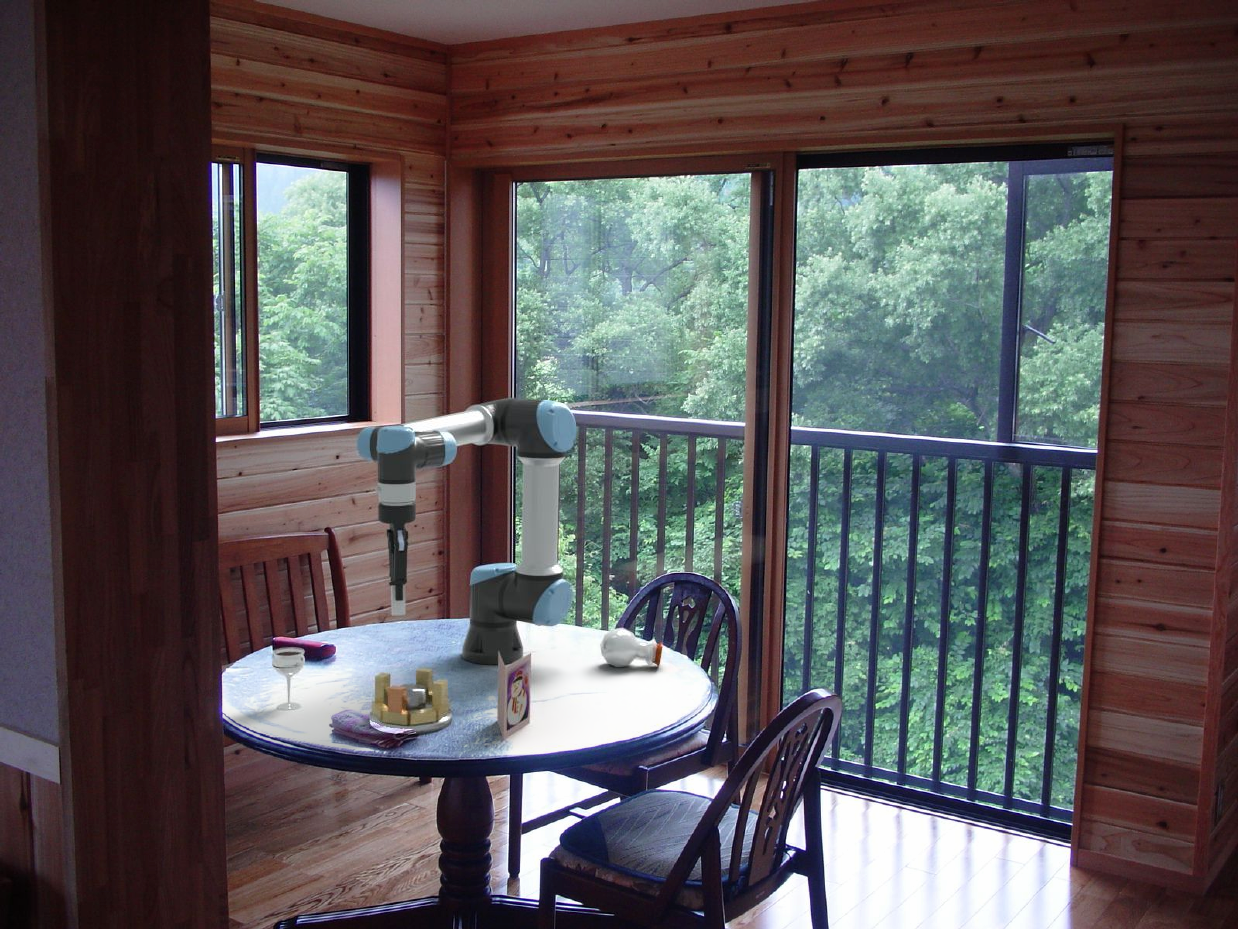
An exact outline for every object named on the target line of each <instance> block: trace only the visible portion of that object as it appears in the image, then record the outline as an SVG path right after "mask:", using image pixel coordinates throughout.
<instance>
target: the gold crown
mask: <svg viewBox="0 0 1238 929" xmlns="http://www.w3.org/2000/svg"><path fill="white" fill-rule="evenodd" d="M415 684H420V685H423V686H425V687H426V705H432V708H429V709H422V710H415V711H406V687H402V686H401V685H391V673H389V672H380V673H378V674H377V675H375V676H374V699H373V700H372V702H371V711H372V714H373V715H374V716H375V717H377V718H378V719H379V720H380V721H383V722H387V723H395V724H403V725H408V724H410V725H414V724H421V723H428V722H434V721H436V720H440V719H441V718H443V717H444V716H445V715H446V714H448V713H449V712H450V709H451V708H450V706H451V705H450V704H451V702H450V700H449V699H448V680H447V679H440V678H438V679H437V680H435V681H434V669H433V668H425V667H419V668H418V669H416V670H415Z"/></svg>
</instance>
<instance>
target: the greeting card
mask: <svg viewBox="0 0 1238 929" xmlns="http://www.w3.org/2000/svg"><path fill="white" fill-rule="evenodd" d="M497 665H498V666H497V667H498V668H497V669H498V670H497V713H496V714H497V724H498V727H499V730H500V732H501V736H502V739H503V740H506V739H507V738H509V737H510V736H512V735H513V734H515V733H516V732H518V731H519V730H521V729H523V728H524V727H525V726H527V725H528V724H530V721H531V677H532V674H531V672H532V652H529V654H528V653H527V654H526V655H525V656H524V655H523V657H522V658H521V659H519V660H517V661H515V662H511V663H509V664H508V665H506V666H505V664H504V663H503V661H502V658H501V656H500V653H499V651H498V664H497Z"/></svg>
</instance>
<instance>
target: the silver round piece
mask: <svg viewBox="0 0 1238 929" xmlns="http://www.w3.org/2000/svg"><path fill="white" fill-rule="evenodd" d="M400 686H402V687H406V711H415V710H422V709H429V708H432V705H426V687H425V686H423V685H420V684H416V683H407V684H401V685H400ZM368 716H369V717H368V718H369V719H370V720H371V721H372V722H375V723H377V724H379V725H380V726H386V727H390V728H400V729H403V728H404V729H413V730H414V732H416V733H417V734H418V735H424V734H426V735H427V734H431V733H436V732H438V731H441V730H443V729H445V728H447V727H449V726H450V725H451V723H452V722H453V711H452V710H451V708H450V712H449V713H448V714H446V715H445V716H444V717H443V718H441V719H440V720H436V721H434V722H428V723H421V724H414V725H410V724H408V725H403V724H395V723H387V722H383V721H380V720H379V719H378V718H377V717H375V716H374V715H373V714H372V710H371V711H370V713H369V715H368Z"/></svg>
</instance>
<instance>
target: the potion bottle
mask: <svg viewBox="0 0 1238 929" xmlns="http://www.w3.org/2000/svg"><path fill="white" fill-rule="evenodd" d="M599 646H600V651H601V652H600V653H601V656H602V658H603V659H604V660H605V662H607V664H610V665H612V666H613V667H615V668H623V667H627V666H629V665H630V664H632V662H634V661H635V660H639V661H644V662H645V663H646V664H647V665H648V666H649V667H650V668H651V667H652V665H654V664H655V665H656V666H657V667H658V668H659V667H660V665H661V659H662V651H663V641H662V642H660V643H657V641H656V639H655V638H652V639H651V640H649V641H648V642H643V641H638V638H636V636H635V634H634V633H633V632H632V631H630V630H628V629H626V628H624V627H619V628H613V629H611V630H610V631H609V632H606V634H604V635H603V638H602V639H601V641H600V644H599Z"/></svg>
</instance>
